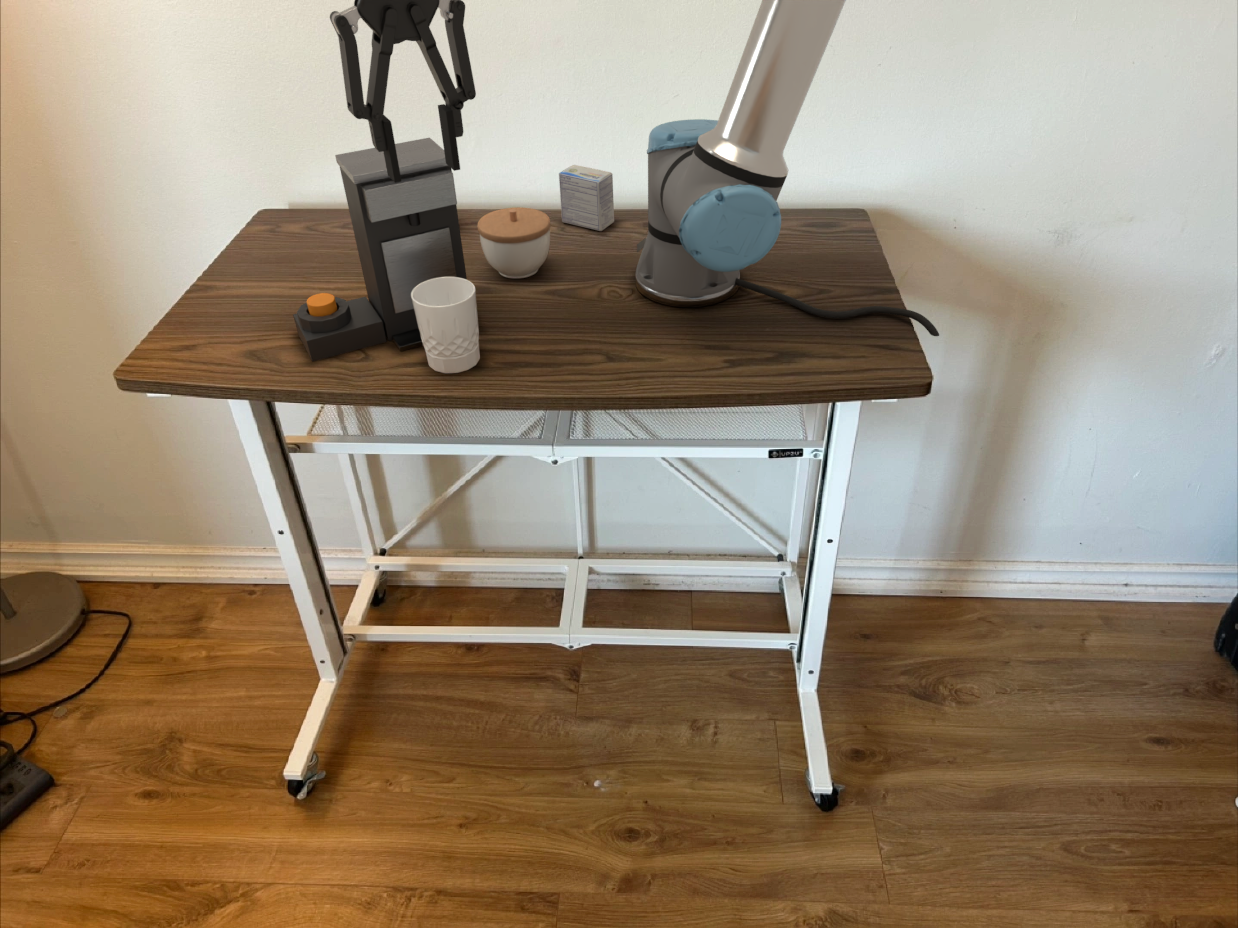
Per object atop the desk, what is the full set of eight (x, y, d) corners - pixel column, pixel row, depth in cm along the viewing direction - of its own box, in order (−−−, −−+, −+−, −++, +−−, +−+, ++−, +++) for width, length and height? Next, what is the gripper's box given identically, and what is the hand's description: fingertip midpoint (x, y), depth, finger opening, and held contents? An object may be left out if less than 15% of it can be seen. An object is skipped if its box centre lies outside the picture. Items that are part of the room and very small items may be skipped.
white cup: (473, 379, 112) (462, 309, 106) (414, 373, 114) (400, 303, 107) (492, 347, 118) (483, 278, 112) (436, 342, 120) (424, 274, 113)
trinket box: (566, 263, 137) (563, 204, 131) (526, 291, 130) (521, 231, 124) (510, 248, 142) (504, 191, 136) (469, 275, 135) (460, 216, 129)
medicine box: (615, 222, 149) (613, 171, 143) (600, 232, 146) (598, 181, 140) (576, 213, 152) (573, 163, 147) (561, 223, 149) (557, 172, 144)
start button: (333, 302, 119) (330, 290, 118) (340, 313, 117) (337, 301, 116) (306, 308, 118) (303, 296, 117) (313, 320, 115) (310, 308, 114)
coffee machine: (370, 315, 126) (334, 154, 111) (453, 294, 130) (429, 137, 116) (395, 353, 117) (360, 185, 103) (482, 329, 122) (461, 164, 108)
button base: (370, 316, 125) (363, 284, 122) (386, 342, 120) (379, 308, 117) (298, 334, 122) (289, 302, 119) (312, 362, 116) (303, 328, 113)
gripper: (466, -78, 92) (490, 146, 106) (277, -59, 85) (331, 178, 99) (493, -68, 87) (515, 166, 101) (295, -48, 80) (349, 200, 94)
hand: (424, 171), depth 100 cm, fingers open, 6 cm apart
